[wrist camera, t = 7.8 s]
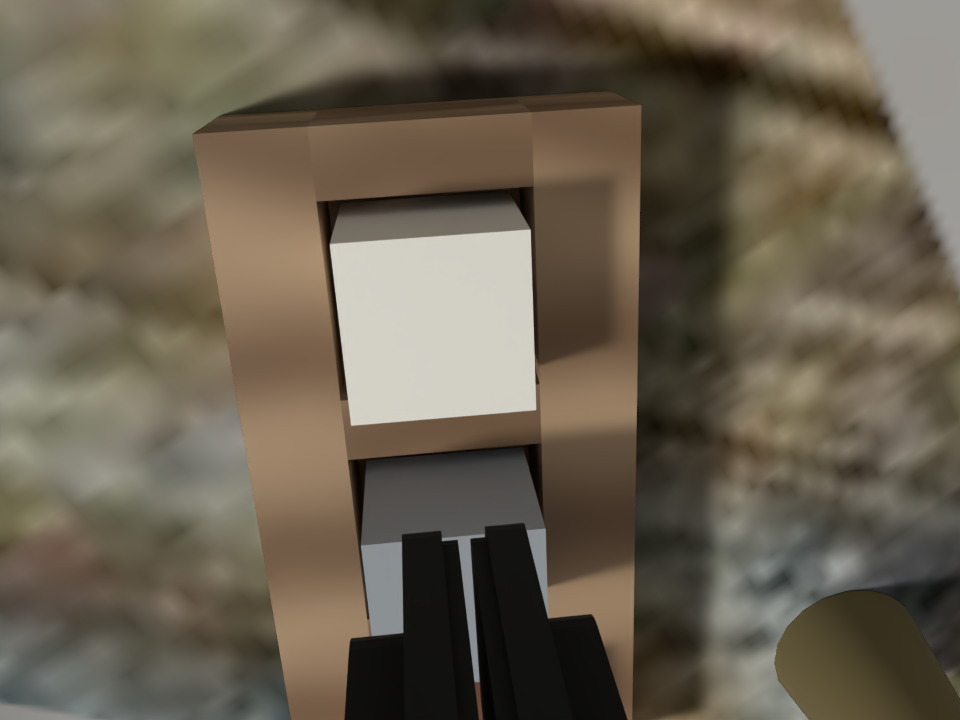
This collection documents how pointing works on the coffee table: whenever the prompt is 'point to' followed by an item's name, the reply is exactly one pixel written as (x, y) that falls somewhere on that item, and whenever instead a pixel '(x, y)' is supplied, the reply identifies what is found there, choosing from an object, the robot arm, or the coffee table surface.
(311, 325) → the wooden slotted tray
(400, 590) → the grey cube
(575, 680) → the robot arm
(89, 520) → the coffee table surface
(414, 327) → the key ivory
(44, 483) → the coffee table surface
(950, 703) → the cork
